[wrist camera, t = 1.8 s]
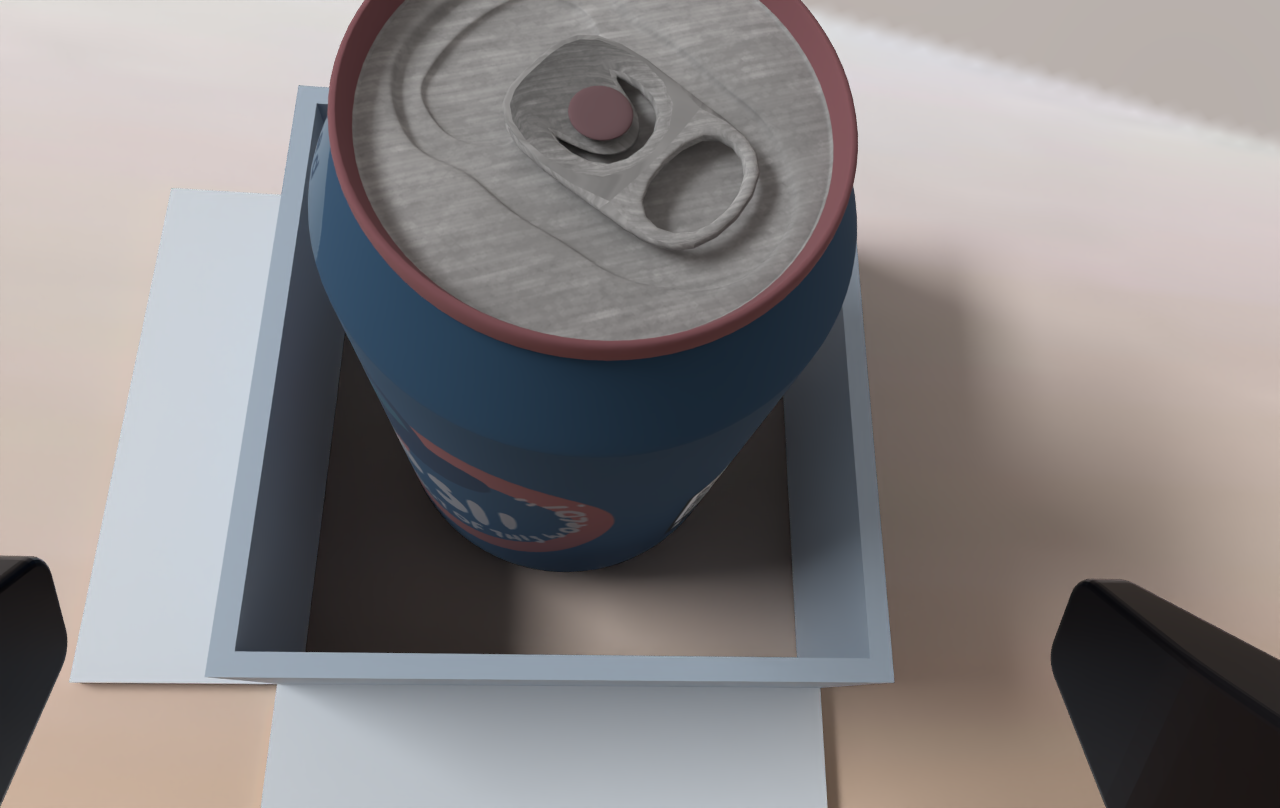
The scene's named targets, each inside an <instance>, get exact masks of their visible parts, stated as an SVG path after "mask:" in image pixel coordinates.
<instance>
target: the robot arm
mask: <svg viewBox="0 0 1280 808" xmlns="http://www.w3.org/2000/svg"><path fill="white" fill-rule="evenodd" d="M66 652H67V633H66V628H65V624H64V620H63V616H62V613H61V609H60V605H59V601H58V597H57V593H56V589H55V586H54V582H53V578H52V574H51V572H50V569H49V567H48V565H47V564H46V563H45V562H44V561H43V560H41V559H39V558H37V557H34V556H0V806H1V804H2V802H3V799H4V797H5V795H6V793H7V790H8V788H9V786H10V784H11V781H12V779H13V777H14V775H15V772H16V770H17V768H18V766H19V763H20V761H21V759H22V757H23V754H24V752H25V750H26V747H27V745H28V743H29V741H30V738H31V736H32V734H33V732H34V729H35V727H36V725H37V723H38V720H39V718H40V716H41V714H42V711H43V709H44V707H45V705H46V702H47V700H48V698H49V696H50V693H51V691H52V689H53V687H54V684H55V682H56V680H57V678H58V675H59V673H60V671H61V669H62V666H63V663H64V660H65V656H66ZM1051 666H1052V671H1053V674H1054V677H1055V680H1056V682H1057V685H1058V688H1059V690H1060V693H1061V695H1062V698H1063V700H1064V703H1065V705H1066V708H1067V710H1068V713H1069V715H1070V718H1071V720H1072V723H1073V726H1074V728H1075V731H1076V733H1077V736H1078V738H1079V741H1080V743H1081V746H1082V748H1083V751H1084V753H1085V756H1086V759H1087V761H1088V764H1089V766H1090V769H1091V771H1092V774H1093V776H1094V779H1095V781H1096V784H1097V786H1098V789H1099V791H1100V794H1101V797H1102V799H1103V802H1104V804H1105V806H1106V808H1280V660H1279V659H1277V658H1275V657H1273V656H1271V655H1269V654H1267V653H1265V652H1263V651H1262V650H1260V649H1258V648H1256V647H1254V646H1252V645H1250V644H1248V643H1246V642H1244V641H1242V640H1241V639H1239V638H1237V637H1235V636H1233V635H1231V634H1229V633H1227V632H1225V631H1223V630H1222V629H1220V628H1218V627H1216V626H1214V625H1212V624H1210V623H1208V622H1206V621H1204V620H1203V619H1201V618H1199V617H1197V616H1195V615H1193V614H1191V613H1189V612H1187V611H1185V610H1183V609H1182V608H1180V607H1178V606H1176V605H1174V604H1172V603H1170V602H1168V601H1166V600H1164V599H1163V598H1161V597H1159V596H1157V595H1155V594H1153V593H1151V592H1149V591H1147V590H1145V589H1144V588H1142V587H1140V586H1138V585H1136V584H1134V583H1132V582H1130V581H1126V580H1121V579H1086V580H1083V581H1081V582H1079V583H1078V584H1077V585H1076V586H1075V587H1074V589H1073V591H1072V593H1071V596H1070V598H1069V601H1068V604H1067V606H1066V609H1065V612H1064V615H1063V617H1062V620H1061V623H1060V625H1059V628H1058V631H1057V633H1056V636H1055V639H1054V641H1053V644H1052V649H1051Z"/></svg>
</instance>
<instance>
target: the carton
mask: <svg viewBox="0 0 1280 808" xmlns="http://www.w3.org/2000/svg"><path fill="white" fill-rule="evenodd" d="M328 94H329V88H328V87H314V86H301V85H299V86H298V93H297V99H296V105H295V111H294V118H293V124H292V130H291V137H290V143H289V149H288V155H287V162H286V168H285V174H284V180H283V187H282V193H281V195H276V194H260V193H244V192H229V191H213V190H197V189H181V188H171V192H170V197H169V202H168V207H167V212H166V217H165V221H164V226H163V231H162V236H161V241H160V246H159V250H158V255H157V260H156V265H155V270H154V275H153V279H152V284H151V289H150V294H149V299H148V304H147V308H146V313H145V318H144V323H143V328H142V333H141V337H140V342H139V347H138V352H137V357H136V362H135V366H134V371H133V376H132V381H131V386H130V391H129V395H128V400H127V405H126V410H125V415H124V420H123V424H122V429H121V434H120V439H119V444H118V448H117V453H116V458H115V463H114V468H113V473H112V477H111V482H110V487H109V492H108V497H107V502H106V506H105V511H104V516H103V521H102V526H101V531H100V535H99V540H98V545H97V550H96V555H95V560H94V564H93V569H92V574H91V579H90V584H89V589H88V593H87V598H86V603H85V608H84V613H83V618H82V622H81V627H80V632H79V637H78V642H77V647H76V651H75V656H74V661H73V666H72V671H71V676H70V680H69V682H72V683H183V684H277V689H276V697H275V704H274V712H273V719H272V727H271V734H270V742H269V749H268V757H267V764H266V772H265V779H264V787H263V794H262V802H261V808H827V791H826V775H825V758H824V741H823V724H822V708H821V691H820V688H824V687H839V686H853V685H868V684H882V683H894V671H893V660H892V648H891V636H890V625H889V613H888V602H887V590H886V578H885V567H884V555H883V544H882V532H881V520H880V509H879V497H878V486H877V474H876V462H875V451H874V439H873V428H872V416H871V404H870V393H869V381H868V370H867V358H866V346H865V335H864V323H863V312H862V300H861V288H860V277H859V265H858V254H857V242H856V253H855V260H854V266H853V271H852V276H851V280H850V283H849V287H848V291H847V294H846V297H845V299H844V302H843V305H842V308H841V310H840V312H839V314H838V317H837V319H836V321H835V323H834V325H833V327H832V329H831V331H830V332H829V334H828V336H827V337H826V339H825V341H824V343H823V344H822V346H821V347H820V348H819V350H818V351H817V353H816V354H815V355H814V357H813V358H812V360H811V361H810V362H809V363H808V365H807V366H806V367H805V368H804V370H803V371H802V372H801V374H800V375H799V376H798V377H797V379H796V380H795V381H794V382H793V384H792V385H791V386H790V388H789V389H788V390H787V391H786V393H785V394H784V395H783V399H784V418H785V438H786V457H787V476H788V495H789V515H790V534H791V553H792V572H793V592H794V611H795V630H796V649H797V658H795V657H704V656H612V655H521V654H429V653H337V652H305V649H306V641H307V633H308V625H309V617H310V609H311V601H312V593H313V585H314V577H315V569H316V561H317V553H318V545H319V537H320V529H321V521H322V513H323V505H324V497H325V489H326V481H327V473H328V465H329V457H330V449H331V441H332V432H333V424H334V416H335V408H336V400H337V392H338V384H339V376H340V368H341V360H342V352H343V344H344V336H345V330H344V328H343V326H342V324H341V322H340V320H339V318H338V316H337V314H336V312H335V310H334V308H333V306H332V304H331V302H330V300H329V298H328V295H327V293H326V291H325V289H324V286H323V284H322V281H321V278H320V275H319V272H318V269H317V266H316V263H315V258H314V254H313V250H312V245H311V238H310V231H309V220H308V192H309V180H310V173H311V166H312V162H313V158H314V153H315V149H316V145H317V142H318V139H319V136H320V133H321V131H322V128H323V125H324V123H325V120H326V118H327V116H328V115H327V112H328Z"/></svg>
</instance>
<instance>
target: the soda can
mask: <svg viewBox="0 0 1280 808" xmlns="http://www.w3.org/2000/svg"><path fill="white" fill-rule="evenodd" d="M327 115H328V116H327V118H326V120H325V123H324V125H323V128H322V131H321V133H320V136H319V139H318V142H317V145H316V149H315V153H314V158H313V162H312V166H311V173H310V180H309V192H308V220H309V231H310V238H311V245H312V250H313V254H314V258H315V263H316V266H317V269H318V272H319V275H320V278H321V281H322V284H323V286H324V289H325V291H326V293H327V295H328V298H329V300H330V302H331V304H332V306H333V308H334V310H335V312H336V314H337V316H338V318H339V320H340V322H341V324H342V326H343V328H344V330H345V332H346V334H347V336H348V338H349V340H350V342H351V344H352V346H353V348H354V350H355V352H356V354H357V356H358V358H359V360H360V362H361V364H362V366H363V368H364V370H365V372H366V374H367V376H368V378H369V380H370V382H371V384H372V386H373V388H374V390H375V392H376V394H377V396H378V398H379V400H380V402H381V404H382V406H383V408H384V410H385V412H386V414H387V416H388V418H389V420H390V422H391V424H392V426H393V428H394V430H395V432H396V434H397V436H398V438H399V440H400V442H401V444H402V446H403V448H404V450H405V452H406V454H407V456H408V458H409V460H410V462H411V464H412V466H413V468H414V470H415V472H416V474H417V476H418V478H419V480H420V482H421V484H422V486H423V488H424V490H425V492H426V494H427V495H428V497H429V499H430V500H431V502H432V503H433V505H434V506H435V507H436V509H437V510H438V511H439V512H440V514H441V515H442V516H443V517H444V518H445V519H446V521H447V522H448V523H449V524H450V525H451V526H452V527H453V528H454V529H456V530H457V531H458V532H459V533H460V534H461V535H462V536H464V537H465V538H466V539H468V540H469V541H470V542H472V543H473V544H475V545H476V546H478V547H479V548H481V549H483V550H484V551H486V552H488V553H490V554H492V555H494V556H496V557H498V558H501V559H503V560H505V561H508V562H511V563H514V564H517V565H520V566H524V567H528V568H532V569H538V570H544V571H554V572H576V571H587V570H594V569H599V568H604V567H608V566H611V565H615V564H618V563H621V562H624V561H626V560H629V559H631V558H633V557H635V556H637V555H639V554H641V553H644V552H645V551H647V550H649V549H650V548H652V547H654V546H655V545H657V544H658V543H659V542H661V541H662V540H664V539H665V538H666V537H667V536H669V535H670V534H671V533H672V532H673V531H675V530H676V529H677V528H678V527H679V526H680V525H681V524H682V523H683V522H684V520H685V519H686V518H687V517H688V516H689V515H690V513H691V512H692V511H693V510H694V508H695V507H696V506H697V505H698V503H699V502H700V501H701V500H702V498H703V497H704V496H705V494H706V493H707V492H708V491H709V489H710V488H711V487H712V486H713V484H714V483H715V482H716V480H717V479H718V478H719V477H720V475H721V474H722V473H723V472H724V470H725V469H726V468H727V466H728V465H729V464H730V463H731V461H732V460H733V459H734V458H735V456H736V455H737V454H738V452H739V451H740V450H741V449H742V447H743V446H744V445H745V444H746V442H747V441H748V440H749V438H750V437H751V436H752V435H753V433H754V432H755V431H756V430H757V428H758V427H759V426H760V424H761V423H762V422H763V421H764V419H765V418H766V417H767V416H768V414H769V413H770V412H771V410H772V409H773V408H774V407H775V405H776V404H777V403H778V402H779V400H780V399H781V398H782V396H783V395H784V394H785V393H786V391H787V390H788V389H789V388H790V386H791V385H792V384H793V382H794V381H795V380H796V379H797V377H798V376H799V375H800V374H801V372H802V371H803V370H804V368H805V367H806V366H807V365H808V363H809V362H810V361H811V360H812V358H813V357H814V355H815V354H816V353H817V351H818V350H819V348H820V347H821V346H822V344H823V343H824V341H825V339H826V337H827V336H828V334H829V332H830V331H831V329H832V327H833V325H834V323H835V321H836V319H837V317H838V314H839V312H840V310H841V308H842V305H843V302H844V299H845V297H846V294H847V291H848V287H849V283H850V280H851V276H852V271H853V266H854V260H855V253H856V241H857V213H856V203H855V194H854V188H853V183H854V178H855V172H856V166H857V154H858V131H857V121H856V113H855V108H854V103H853V98H852V94H851V90H850V87H849V83H848V80H847V77H846V75H845V72H844V69H843V66H842V64H841V62H840V60H839V58H838V55H837V53H836V51H835V49H834V47H833V46H832V44H831V42H830V40H829V38H828V37H827V35H826V33H825V32H824V30H823V29H822V27H821V26H820V24H819V23H818V21H817V20H816V19H815V17H814V16H813V15H812V13H811V12H810V11H809V10H808V8H807V7H806V6H805V5H804V4H803V2H802V1H801V0H365V1H364V2H363V3H362V5H361V6H360V8H359V9H358V11H357V12H356V14H355V16H354V18H353V19H352V21H351V23H350V25H349V26H348V29H347V31H346V33H345V35H344V38H343V40H342V42H341V44H340V47H339V50H338V53H337V56H336V59H335V62H334V66H333V70H332V75H331V79H330V86H329V94H328V112H327Z"/></svg>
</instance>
